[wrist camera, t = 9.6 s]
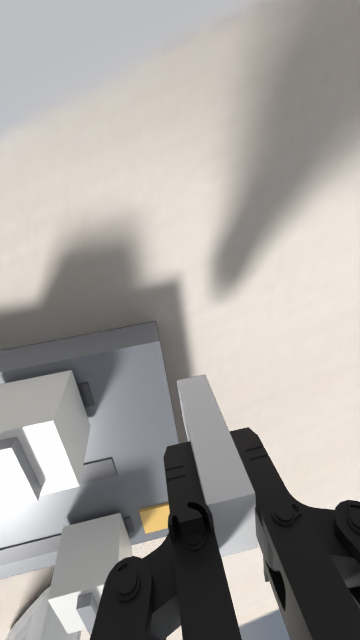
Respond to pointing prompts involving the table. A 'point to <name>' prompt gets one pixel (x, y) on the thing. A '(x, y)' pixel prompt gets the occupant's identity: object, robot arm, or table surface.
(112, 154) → the table surface
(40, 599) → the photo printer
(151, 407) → the console
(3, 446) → the slider
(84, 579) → the slider
